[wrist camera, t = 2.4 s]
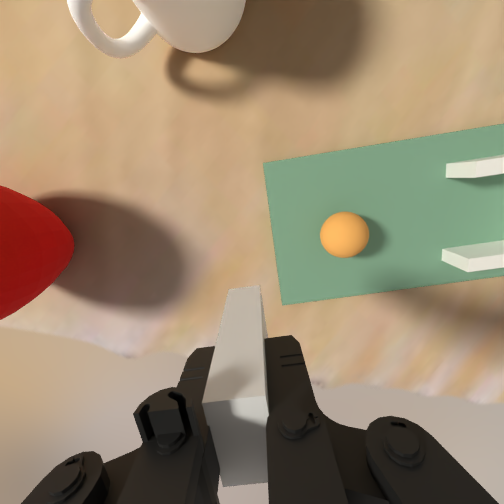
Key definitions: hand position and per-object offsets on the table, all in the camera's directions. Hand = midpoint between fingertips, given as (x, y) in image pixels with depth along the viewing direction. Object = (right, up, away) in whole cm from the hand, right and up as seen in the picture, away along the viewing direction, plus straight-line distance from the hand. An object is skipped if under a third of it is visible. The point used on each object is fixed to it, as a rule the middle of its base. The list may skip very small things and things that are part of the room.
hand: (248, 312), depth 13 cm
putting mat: (+14, +6, +12) cm, 19 cm away
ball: (+8, +4, +10) cm, 13 cm away
